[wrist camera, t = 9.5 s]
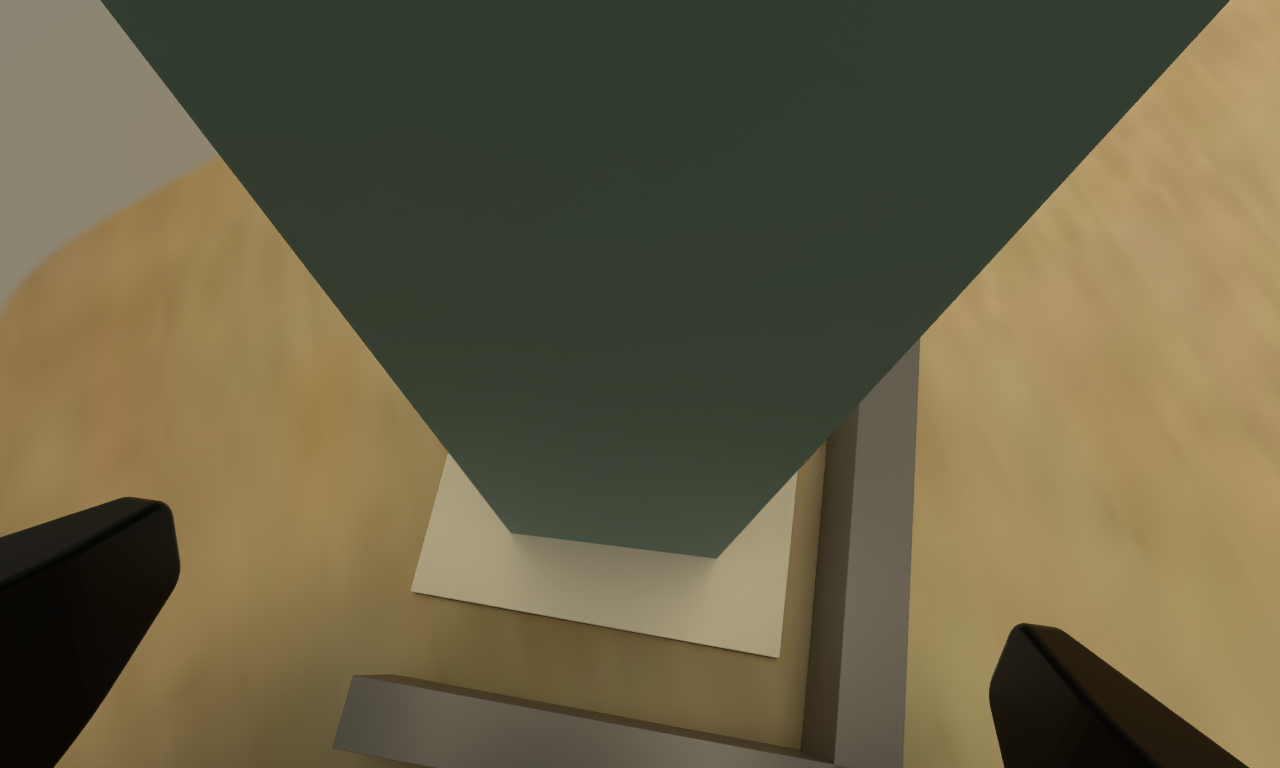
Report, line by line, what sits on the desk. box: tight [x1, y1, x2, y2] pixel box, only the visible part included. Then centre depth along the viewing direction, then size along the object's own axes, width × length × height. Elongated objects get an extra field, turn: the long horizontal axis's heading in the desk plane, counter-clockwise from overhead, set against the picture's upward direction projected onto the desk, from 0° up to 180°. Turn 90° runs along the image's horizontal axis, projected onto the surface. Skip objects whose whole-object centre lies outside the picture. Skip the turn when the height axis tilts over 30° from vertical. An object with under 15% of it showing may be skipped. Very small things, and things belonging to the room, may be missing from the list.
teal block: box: [101, 0, 1230, 559], centre depth 10 cm, size 5×5×15 cm
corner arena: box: [332, 338, 920, 768], centre depth 16 cm, size 11×10×2 cm
